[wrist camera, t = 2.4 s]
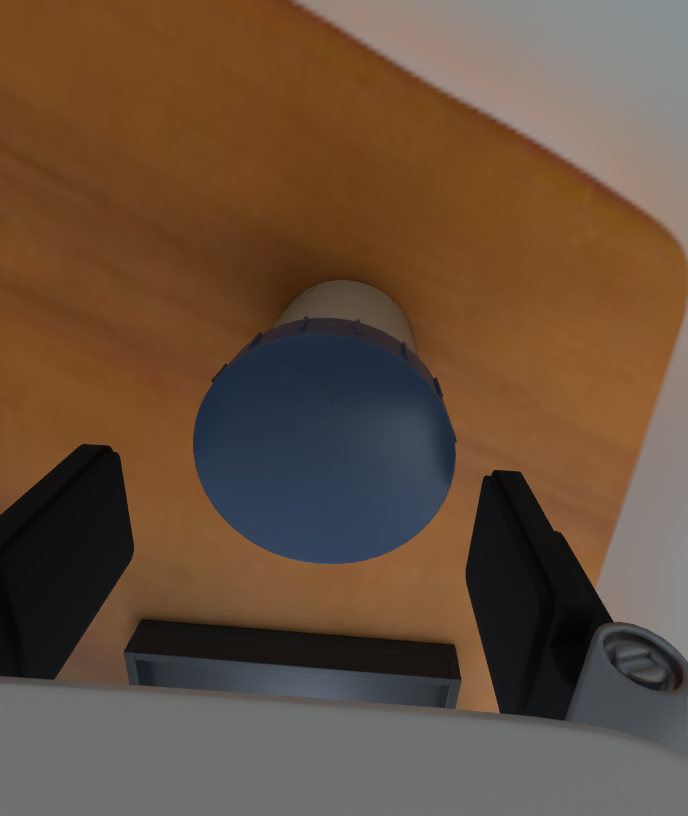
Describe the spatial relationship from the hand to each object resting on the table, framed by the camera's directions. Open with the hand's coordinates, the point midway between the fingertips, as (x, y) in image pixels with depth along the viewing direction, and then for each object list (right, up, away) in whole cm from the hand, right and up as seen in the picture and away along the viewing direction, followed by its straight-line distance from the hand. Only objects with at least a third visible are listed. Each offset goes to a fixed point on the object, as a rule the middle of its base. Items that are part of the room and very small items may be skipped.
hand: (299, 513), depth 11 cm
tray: (-2, -18, +21) cm, 28 cm away
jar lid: (+1, +1, +2) cm, 2 cm away
